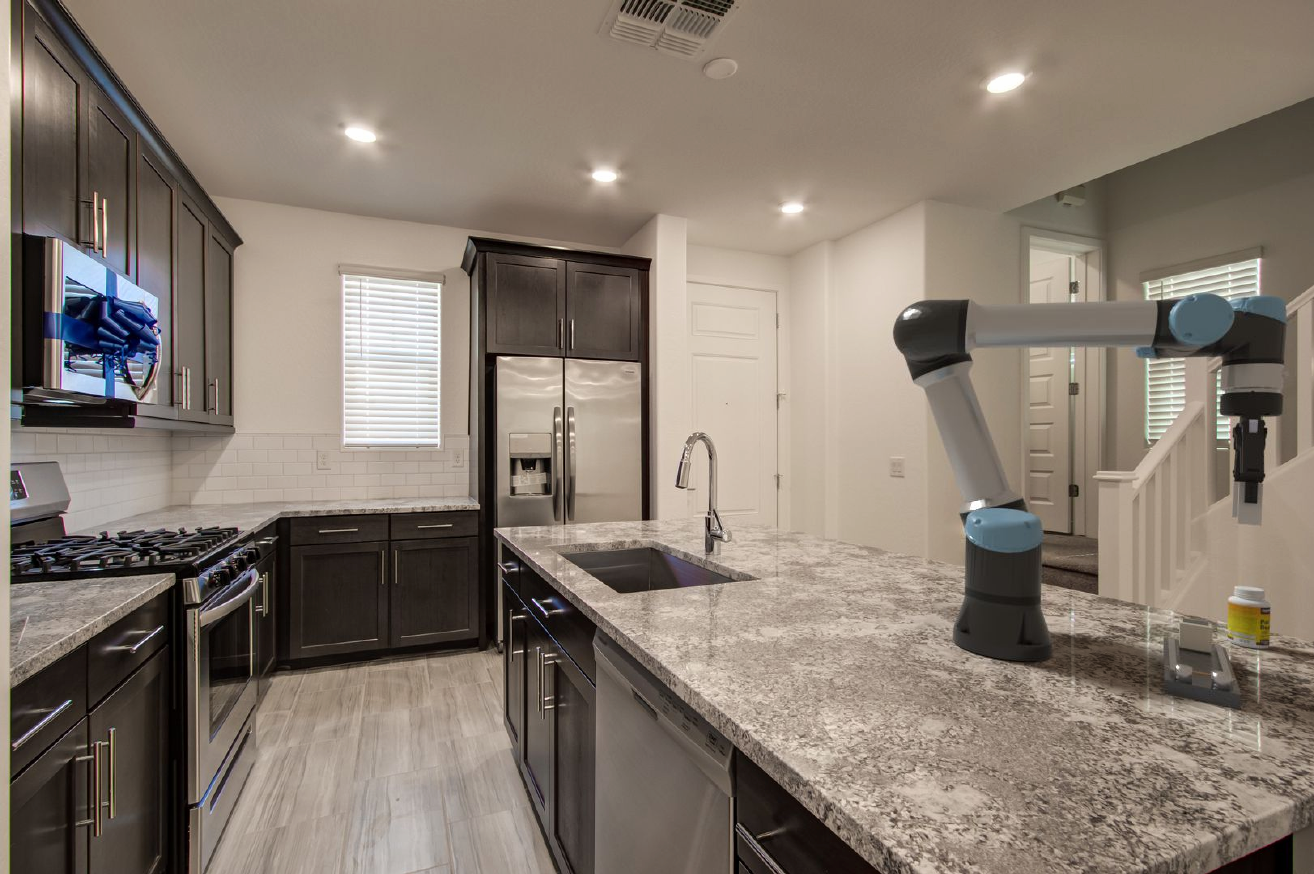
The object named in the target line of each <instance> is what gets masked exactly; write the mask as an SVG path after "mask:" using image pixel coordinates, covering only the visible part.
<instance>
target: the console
mask: <svg viewBox="0 0 1314 874" xmlns="http://www.w3.org/2000/svg"><path fill="white" fill-rule="evenodd" d="M1162 641H1163V646H1162V648H1163V649H1162V652H1163V679H1164V680H1163V683H1164V694H1165V695H1169V696H1174V697H1179V698H1183V699H1190V700H1194V701H1198V702H1203V703H1208V704H1212V705H1216V706H1222V707H1227V708H1231V709H1236V710H1242V693H1241V690H1240V686H1239V684H1238V680H1237V679H1236V675H1235V672H1234V670H1233V666H1232V664H1231V663H1232V662H1231V660H1230V658H1229V655H1228V652H1227V648H1226V647H1224V646H1223V645H1222V644H1218V643H1214V645H1212V653H1210V652H1204V651H1198V650H1193V649H1187V648H1181V647H1179V639H1176V638H1175V637H1174V636H1167V637H1163V640H1162Z"/></svg>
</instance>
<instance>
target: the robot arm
mask: <svg viewBox="0 0 1314 874" xmlns="http://www.w3.org/2000/svg"><path fill="white" fill-rule="evenodd" d="M1287 319H1288V318H1287V304H1286V301H1285V299H1283V298H1282V297H1280V296H1278V295H1277V296H1276V295H1251V296H1242V297H1237V298H1233V299H1229V300H1227V299H1226V298H1225V297H1222V296H1220V295H1218V294H1215V293H1209V292H1208V293H1207V292H1203V293H1201V292H1199V293H1195V294H1191V295H1189V296H1185V297H1184V298H1175V299H1174V298H1173V299H1172V298H1171V299H1143V300H1142V299H1141V300H1140V299H1138V300H1134V299H1133V300H1108V301H1107V300H1106V301H1105V300H1103V301H1076V302H1075V301H1072V302H1071V301H1070V302H1068V301H1067V302H1066V301H1065V302H1064V301H1063V302H1036V303H1031V302H1030V303H1029V302H1028V303H1006V304H1005V303H1002V304H978V303H977V302H975V301H974V300H973V299H969V298H968V299H967V298H966V299H925V300H920V301H916V302H914V303H912V304H910V305H908V306H906V307H905V308H904V309H903V310H902V311H901V312H900V313H899V315H898V316H897V318H896V319H895V321H894V325H893V329H892V337H893V341H894V344H895V346H896V349H897V350H898V351H899V353H901V354H902V355H903V357H904V360H905V362H906V366H907V369H908V371H909V374H910V376H911V380H912V383H913V384H915V385H917V386H918V387H921V388H922V389H923V390H924V393H925V395H926V399H927V400H928V404H929V406H930V410H931V411H932V416H933V418H934V420H935V424H936V426H937V430H938V432H939V435H940V438H941V440H942V444H943V447H944V449H945V451H946V455H947V457H948V460H949V461H948V462H949V464H950V466H951V467H950V468H951V470H952V472H953V475H954V477H955V480H956V483H957V486H958V489H959V492H960V494H961V498H962V500H963V502H962V505H961V506H960V508H959V509H958V514H959V517H960V519H961V523H962V526H963V528H964V534H965V553H964V554H965V556H964V559H965V561H964V563H965V564H964V566H965V567H964V596H963V601H962V604H961V605H960V608H959V611H958V614H957V616H956V619H955V621H954V624H953V628H952V641H953V643H954V644H955V645H957V646H959V647H960V648H962V649H964V650H966V651H969V652H973V653H974V654H978V655H983V656H985V657H991V658H994V659H1001V660H1007V661H1017V662H1018V661H1019V662H1041V661H1046V660H1048V659H1051V658H1052V657H1053V639H1052V636H1051V634H1050V631H1049V627H1048V624H1047V622H1046V617H1045V616H1044V612H1043V610H1042V568H1043V567H1042V566H1043V560H1042V559H1043V540H1044V535H1045V533H1044V529H1043V523H1042V520H1041V519H1040V517H1039V516H1037V515H1035V514H1033V513H1031V512H1029V509H1028V507H1027V504H1026V501H1025V499H1024V496H1023V495H1022V494H1020V493H1017V492H1015V491H1013V489H1011V486H1010V483H1009V480H1008V478H1007V475H1006V472H1005V470H1004V467H1003V465H1002V462H1001V459H1000V457H999V456H1000V455H999V453H998V451H997V449H996V448H997V447H996V445H995V443H994V440H993V437H992V434H991V432H990V429H989V427H988V424H987V421H986V417H985V416H984V413H983V412H984V411H983V409H982V406H981V405H980V401H979V400H978V396H977V394H976V391H975V388H974V385H973V382H972V380H971V377H970V375H969V374H970V371H971V368H972V367H973V366H974V360H973V358H972V355H971V352H972V351H973V350H974V349H988V348H989V349H996V348H998V349H999V348H1001V349H1003V348H1005V349H1006V348H1007V349H1008V348H1009V349H1010V348H1011V349H1013V348H1014V349H1017V348H1022V349H1024V348H1025V349H1028V348H1031V349H1032V348H1033V349H1034V348H1037V349H1038V348H1041V349H1042V348H1049V349H1050V348H1053V349H1054V348H1057V349H1059V348H1133V352H1134V355H1135V356H1136V357H1137V358H1140V359H1155V360H1161V359H1176V358H1177V359H1179V358H1180V359H1181V358H1206V357H1207V358H1217V357H1219V358H1221V368H1220V383H1219V384H1220V386H1219V388H1220V390H1221V391H1223V392H1224V393H1222V394H1221V395H1220V396H1219V397H1220V399H1219V414H1220V415H1221V416H1224V417H1239V422H1236V425H1235V426H1233V427H1232V438H1233V450H1234V463H1233V464H1234V465H1233V470H1232V477H1233V478H1234V479H1233V481H1232V484H1233V485H1232V503H1231V505H1232V506H1231V507H1232V508H1231V517H1232V518H1236V519H1237V520H1236V521H1237V522H1236V524H1238V525H1239V524H1240V525H1251V526H1260V527H1261V526H1262V519H1263V518H1262V517H1263V516H1262V515H1263V493H1264V491H1263V490H1264V483H1263V482H1264V480H1265V478H1266V473H1265V450H1266V442H1267V441H1266V440H1267V437H1268V427H1265V426H1266V420H1264V419H1262V418H1263V417H1264V418H1267V417H1268V418H1270V417H1271V418H1273V417H1274V418H1275V417H1280V416H1282V415H1283V409H1284V395H1283V394H1282V393H1281V392H1278V391H1281V390H1283V388H1284V378H1288V377H1289V376H1290V372H1289V371H1287V370H1284V369H1285V366H1284V365H1285V355H1286V354H1285V351H1286V340H1287V339H1286V337H1287V327H1288V325H1289V323H1288V321H1287Z"/></svg>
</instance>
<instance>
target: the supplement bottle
mask: <svg viewBox="0 0 1314 874" xmlns="http://www.w3.org/2000/svg"><path fill="white" fill-rule="evenodd" d="M1265 595H1266V594H1265V590H1264V589H1262V588H1259V587H1254V586H1253V587H1252V586H1246V585H1235V586H1234V589H1233V595H1232V596H1229V597H1228V599H1227V600H1228V601H1227V603H1228V604H1227V640H1228V641H1229V642H1230V643H1231V644H1234V645H1236V646H1241V647H1245V648H1249V649H1255V650H1256V649H1257V650H1259V649H1260V650H1264V649H1265V650H1266V649H1268V648H1269V647H1270V642H1271V637H1270V636H1271V603H1270V602H1269V601H1267V600H1265V597H1266V596H1265Z"/></svg>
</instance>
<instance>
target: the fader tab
mask: <svg viewBox="0 0 1314 874" xmlns="http://www.w3.org/2000/svg"><path fill="white" fill-rule="evenodd" d="M1178 621H1179V622H1178V631H1179V632H1178V640H1179V647H1181V648H1187V649H1193V650H1198V651H1204V652H1210V653H1212V646H1213V627H1212V624H1211V623H1209V621H1207V620H1201V619H1194V618H1190V617H1189V618H1188V617H1182V619H1181V618H1179V619H1178Z"/></svg>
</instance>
